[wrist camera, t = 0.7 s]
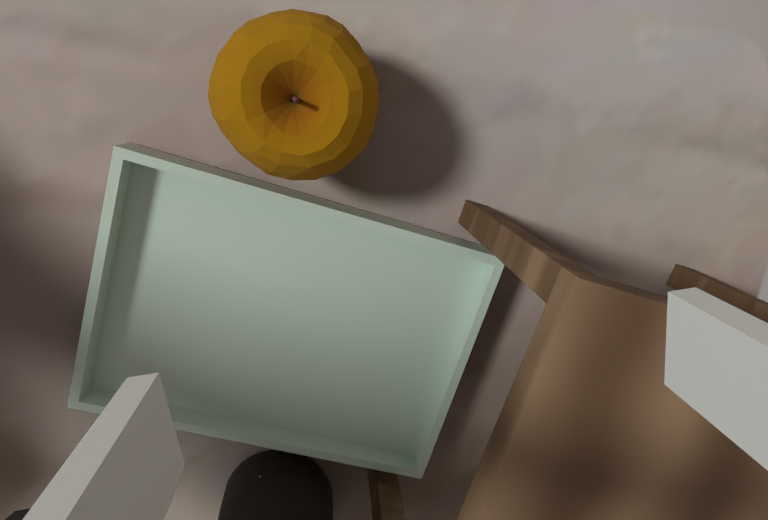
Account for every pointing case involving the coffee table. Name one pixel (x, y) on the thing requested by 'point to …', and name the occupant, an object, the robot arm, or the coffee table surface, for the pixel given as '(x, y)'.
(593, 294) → the riser
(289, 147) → the apple
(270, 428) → the tray
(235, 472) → the container
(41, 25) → the coffee table surface
